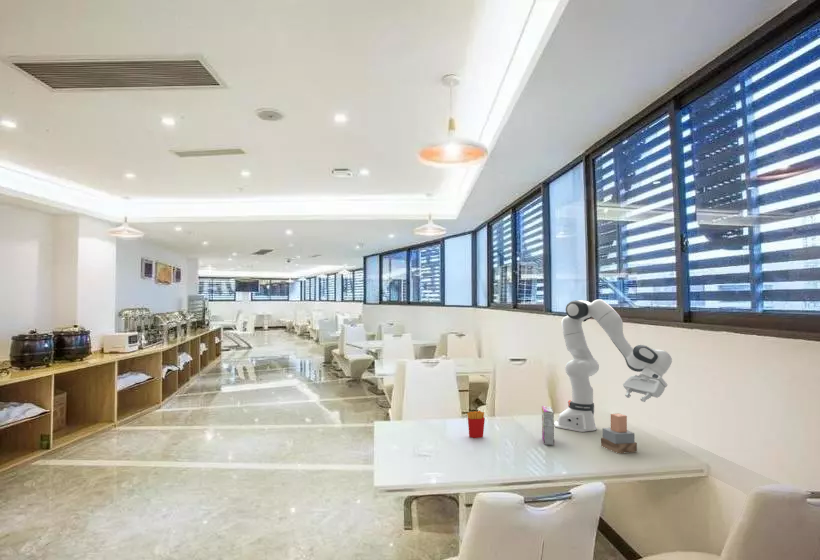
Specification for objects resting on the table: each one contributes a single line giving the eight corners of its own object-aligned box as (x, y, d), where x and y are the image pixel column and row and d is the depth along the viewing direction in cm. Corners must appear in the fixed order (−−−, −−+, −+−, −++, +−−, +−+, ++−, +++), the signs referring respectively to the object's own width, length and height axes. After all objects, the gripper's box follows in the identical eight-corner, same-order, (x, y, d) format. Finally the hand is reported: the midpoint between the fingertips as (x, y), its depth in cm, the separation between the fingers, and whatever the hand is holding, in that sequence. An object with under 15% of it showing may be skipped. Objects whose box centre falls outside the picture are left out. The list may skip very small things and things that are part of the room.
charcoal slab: (615, 443, 206) (615, 434, 206) (602, 437, 216) (602, 428, 216) (634, 443, 208) (634, 433, 208) (621, 436, 218) (620, 427, 218)
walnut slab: (618, 454, 205) (618, 444, 205) (601, 447, 215) (601, 437, 215) (636, 452, 208) (636, 442, 208) (619, 445, 218) (619, 436, 219)
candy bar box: (541, 438, 227) (541, 405, 228) (551, 438, 226) (551, 406, 227) (543, 444, 216) (543, 411, 217) (554, 445, 215) (554, 411, 216)
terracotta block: (618, 432, 209) (618, 416, 209) (610, 429, 214) (610, 414, 214) (626, 431, 211) (626, 415, 211) (618, 428, 215) (618, 413, 216)
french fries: (482, 434, 231) (482, 409, 231) (485, 437, 227) (485, 411, 227) (465, 435, 229) (466, 410, 229) (468, 438, 224) (469, 412, 225)
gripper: (629, 370, 229) (614, 390, 225) (663, 377, 210) (647, 398, 206) (636, 378, 230) (621, 398, 227) (670, 386, 211) (655, 407, 207)
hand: (634, 398), depth 216 cm, fingers open, 8 cm apart
